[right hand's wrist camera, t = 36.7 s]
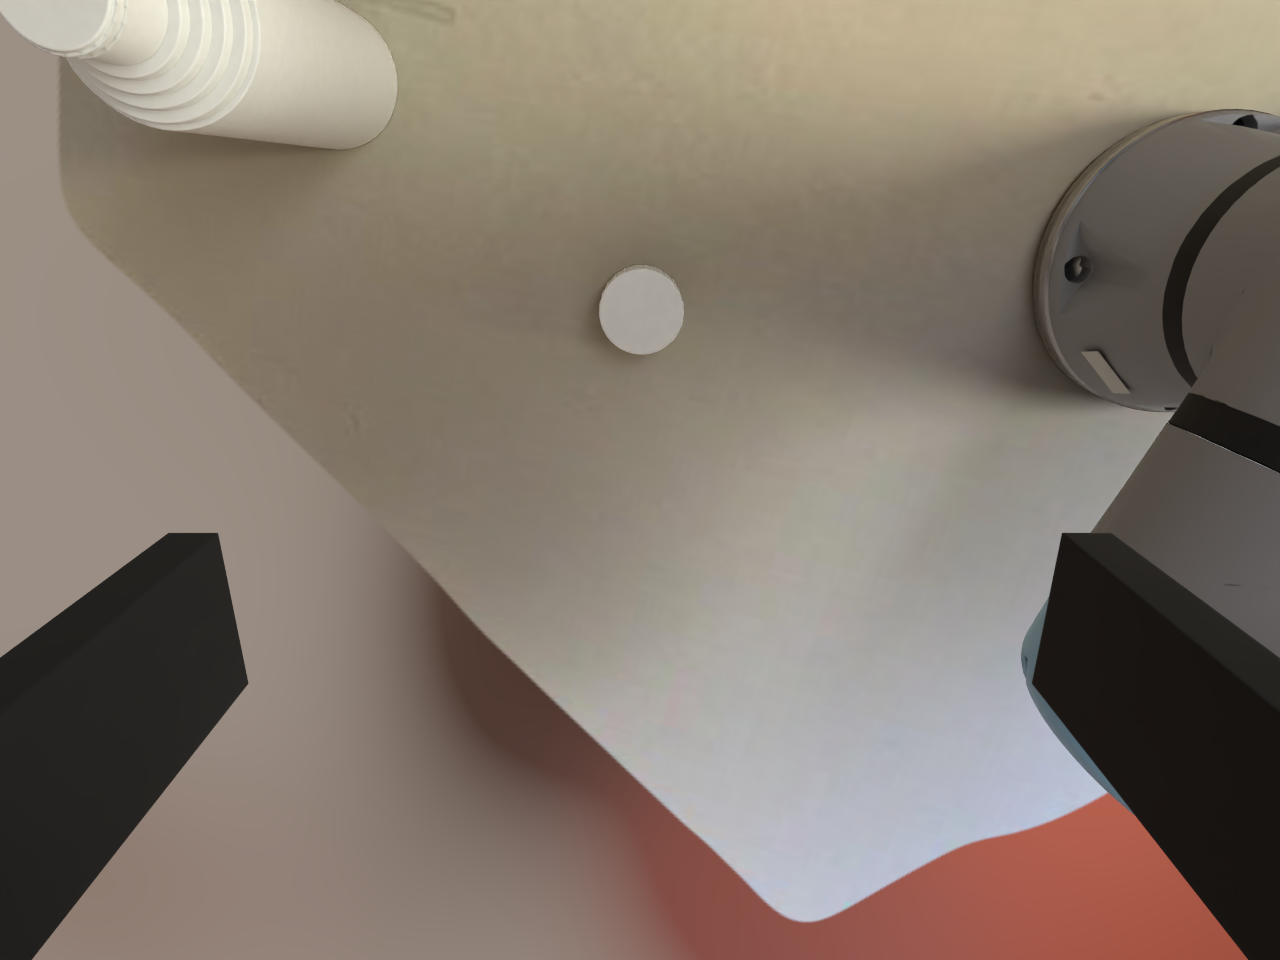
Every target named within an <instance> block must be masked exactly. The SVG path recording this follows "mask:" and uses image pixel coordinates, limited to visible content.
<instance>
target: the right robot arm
mask: <svg viewBox="0 0 1280 960" xmlns="http://www.w3.org/2000/svg"><path fill="white" fill-rule="evenodd" d="M1033 306H1034V313H1035V319H1036V323H1037V326H1038V330H1039V333H1040V335H1041V338H1042V340H1043V343H1044V345H1045V347H1046V349H1047V350H1048V352H1049V354H1050V356H1051V357H1052V358H1053V360H1054V361H1055V363H1056V364H1057V365H1058V366H1059V368H1060V369H1061V370H1062V371H1063V372H1064V373H1065V374H1066V375H1067V376H1068V377H1069V378H1071V379H1072V380H1073V381H1074V382H1076V383H1077V384H1078V385H1080V386H1081V387H1083V388H1084V389H1086V390H1088V391H1090V392H1092V393H1094V394H1096V395H1098V396H1100V397H1102V398H1105V399H1107V400H1109V401H1111V402H1114V403H1116V404H1119V405H1121V406H1125V407H1129V408H1132V409H1137V410H1143V411H1153V412H1175V413H1174V415H1173V416H1172V418H1171V419H1170V420H1169V421H1168V422H1169V423H1170V424H1169V423H1166V425H1165V426H1164V428H1163V429H1162V431H1161V432H1160V434H1159V435H1158V437H1157V438H1156V440H1155V441H1154V443H1153V444H1152V445H1151V447H1150V448H1149V450H1148V451H1147V453H1146V454H1145V456H1144V457H1143V459H1142V460H1141V462H1140V463H1139V465H1138V466H1137V467H1136V469H1135V470H1134V472H1133V473H1132V475H1131V476H1130V478H1129V479H1128V481H1127V482H1126V484H1125V485H1124V487H1123V488H1122V489H1121V491H1120V492H1119V494H1118V495H1117V496H1116V498H1115V499H1114V501H1113V502H1112V504H1111V505H1110V506H1109V508H1108V509H1107V511H1106V512H1105V513H1104V515H1103V516H1102V518H1101V519H1100V520H1099V522H1098V523H1097V525H1096V526H1095V528H1094V529H1093V530H1092V532H1091V533H1062V536H1061V541H1060V546H1059V551H1058V556H1057V561H1056V566H1055V571H1054V576H1053V581H1052V585H1051V590H1050V595H1049V598H1048V599H1047V601H1046V602H1045V604H1044V606H1043V607H1042V609H1041V611H1040V612H1039V614H1038V615H1037V617H1036V619H1035V620H1034V622H1033V624H1032V625H1031V627H1030V629H1029V630H1028V632H1027V634H1026V636H1025V639H1024V641H1023V645H1022V651H1021V661H1022V667H1023V673H1024V675H1025V677H1026V684H1027V688H1028V690H1029V693H1030V695H1031V697H1032V699H1033V701H1034V703H1035V705H1036V707H1037V708H1038V710H1039V712H1040V713H1041V715H1042V717H1043V718H1044V720H1045V721H1046V723H1047V724H1048V726H1049V727H1050V728H1051V730H1052V731H1053V733H1054V734H1055V735H1056V736H1057V738H1058V739H1059V740H1060V742H1061V743H1062V744H1063V745H1064V747H1065V748H1066V749H1067V750H1068V751H1069V752H1070V754H1071V755H1072V756H1073V757H1074V758H1075V759H1076V760H1077V761H1078V762H1079V764H1080V765H1081V766H1082V767H1083V768H1084V769H1085V770H1086V771H1087V772H1088V773H1089V774H1090V775H1091V776H1092V777H1093V778H1094V779H1095V780H1096V781H1097V782H1098V783H1099V784H1100V785H1101V786H1102V787H1103V788H1104V789H1105V790H1106V791H1107V792H1108V793H1109V794H1111V795H1112V796H1113V797H1114V798H1115V799H1116V800H1117V801H1118V802H1120V803H1121V804H1122V805H1123V806H1124V807H1125V808H1127V809H1128V810H1129V811H1130V812H1131V813H1133V814H1134V815H1135V816H1136V817H1137V818H1138V820H1139V821H1140V822H1141V823H1142V825H1143V826H1144V827H1145V829H1146V830H1147V831H1148V832H1149V834H1150V835H1151V836H1152V838H1153V839H1154V840H1155V841H1156V843H1157V844H1158V845H1159V846H1160V848H1161V849H1162V850H1163V852H1164V853H1165V854H1166V855H1167V857H1168V858H1169V859H1170V860H1171V862H1172V863H1173V864H1174V866H1175V867H1176V868H1177V869H1178V871H1179V872H1180V873H1181V874H1182V876H1183V877H1184V878H1185V880H1186V881H1187V882H1188V883H1189V885H1190V886H1191V887H1192V889H1193V890H1194V891H1195V892H1196V894H1197V895H1198V896H1199V897H1200V899H1201V900H1202V901H1203V903H1204V904H1205V905H1206V906H1207V908H1208V909H1209V910H1210V911H1211V913H1212V914H1213V915H1214V917H1215V918H1216V919H1217V920H1218V922H1219V923H1220V924H1221V926H1222V927H1223V928H1224V929H1225V931H1226V932H1227V933H1228V934H1229V936H1230V937H1231V938H1232V940H1233V941H1234V942H1235V943H1236V945H1237V946H1238V947H1239V948H1240V950H1241V951H1242V952H1243V954H1244V955H1245V956H1246V957H1247V959H1248V960H1280V474H1279V473H1280V117H1278V116H1274V115H1271V114H1268V113H1264V112H1259V111H1254V110H1243V109H1222V110H1214V111H1206V112H1198V113H1191V114H1184V115H1180V116H1176V117H1171V118H1168V119H1165V120H1162V121H1159V122H1156V123H1154V124H1151V125H1149V126H1147V127H1145V128H1142V129H1140V130H1138V131H1136V132H1135V133H1133V134H1131V135H1129V136H1127V137H1126V138H1124V139H1123V140H1121V141H1120V142H1118V143H1117V144H1115V145H1114V146H1112V147H1111V148H1110V149H1108V150H1107V151H1106V152H1105V153H1103V154H1102V155H1101V156H1100V157H1098V158H1097V159H1096V160H1095V161H1094V162H1093V163H1092V164H1091V165H1090V166H1089V167H1088V168H1087V169H1086V170H1085V171H1084V172H1083V173H1082V174H1081V175H1080V176H1079V178H1078V179H1077V180H1076V181H1075V182H1074V184H1073V185H1072V186H1071V187H1070V189H1069V190H1068V191H1067V193H1066V194H1065V196H1064V197H1063V199H1062V200H1061V202H1060V203H1059V205H1058V206H1057V208H1056V210H1055V212H1054V214H1053V216H1052V218H1051V219H1050V221H1049V224H1048V226H1047V228H1046V231H1045V233H1044V235H1043V238H1042V241H1041V244H1040V247H1039V251H1038V255H1037V259H1036V263H1035V270H1034V277H1033ZM1180 428H1181V429H1180ZM1182 429H1183V430H1182ZM1184 430H1185V431H1184ZM1187 431H1188V432H1187ZM1189 432H1190V433H1189ZM1191 433H1193V434H1195V435H1198V436H1200V437H1202V438H1204V439H1206V440H1208V441H1206V440H1204V439H1202V438H1200V437H1198V436H1195V435H1193V434H1191ZM1209 441H1210V442H1209ZM1211 442H1212V443H1211ZM1213 443H1215V444H1217V445H1215V444H1213ZM1218 445H1219V446H1218ZM1220 446H1222V447H1224V448H1226V449H1228V450H1226V449H1224V448H1222V447H1220ZM1229 450H1230V451H1229ZM1231 451H1232V452H1231ZM1233 452H1234V453H1233ZM1235 453H1236V454H1235ZM1237 454H1239V455H1237ZM1240 455H1241V456H1240ZM1242 456H1243V457H1242ZM1244 457H1246V458H1248V459H1250V460H1248V459H1246V458H1244ZM1251 460H1252V461H1251ZM1253 461H1255V462H1257V463H1259V464H1261V465H1259V464H1257V463H1255V462H1253ZM1262 465H1263V466H1262ZM1264 466H1265V467H1264ZM1266 467H1268V468H1270V469H1272V470H1270V469H1268V468H1266ZM1273 470H1274V471H1273ZM1275 471H1276V472H1275ZM1277 472H1278V473H1277ZM247 685H248V680H247V674H246V669H245V665H244V660H243V655H242V650H241V645H240V640H239V635H238V630H237V625H236V620H235V615H234V610H233V605H232V600H231V595H230V591H229V586H228V581H227V576H226V571H225V566H224V561H223V556H222V551H221V546H220V541H219V536H218V533H168V534H167V535H165V536H164V537H163V538H161V539H160V540H159V541H157V542H156V543H155V544H153V545H152V546H150V547H149V548H148V549H146V550H145V551H144V552H142V553H141V554H140V555H138V556H137V557H136V558H134V559H133V560H132V561H130V562H129V563H128V564H126V565H125V566H123V567H122V568H121V569H119V570H118V571H117V572H115V573H114V574H113V575H111V576H110V577H109V578H107V579H106V580H105V581H103V582H102V583H101V584H99V585H98V586H97V587H95V588H94V589H92V590H91V591H90V592H88V593H87V594H86V595H84V596H83V597H82V598H80V599H79V600H78V601H76V602H75V603H74V604H72V605H71V606H69V607H68V608H67V609H65V610H64V611H63V612H61V613H60V614H59V615H57V616H56V617H55V618H53V619H52V620H51V621H49V622H48V623H47V624H45V625H44V626H42V627H41V628H40V629H38V630H37V631H36V632H34V633H33V634H32V635H30V636H29V637H28V638H26V639H25V640H24V641H22V642H21V643H20V644H18V645H17V646H15V647H14V648H13V649H11V650H10V651H9V652H7V653H6V654H5V655H3V656H2V657H1V658H0V960H32V959H33V957H34V956H35V955H36V953H37V952H38V951H39V950H40V948H41V947H42V946H43V945H44V943H45V942H46V941H47V939H48V938H49V937H50V936H51V934H52V933H53V932H54V931H55V929H56V928H57V927H58V925H59V924H60V923H61V922H62V920H63V919H64V918H65V917H66V915H67V914H68V913H69V911H70V910H71V909H72V908H73V906H74V905H75V904H76V902H77V901H78V900H79V899H80V897H81V896H82V895H83V893H84V892H85V891H86V890H87V888H88V887H89V886H90V885H91V883H92V882H93V881H94V879H95V878H96V877H97V876H98V874H99V873H100V872H101V871H102V869H103V868H104V867H105V865H106V864H107V863H108V862H109V860H110V859H111V858H112V857H113V855H114V854H115V853H116V852H117V850H118V849H119V848H120V846H121V845H122V844H123V843H124V841H125V840H126V839H127V838H128V836H129V835H130V834H131V832H132V831H133V830H134V829H135V827H136V826H137V825H138V823H139V822H140V821H141V820H142V818H143V817H144V816H145V815H146V813H147V812H148V811H149V809H150V808H151V807H152V806H153V804H154V803H155V802H156V801H157V799H158V798H159V797H160V795H161V794H162V793H163V792H164V790H165V789H166V788H167V786H168V785H169V784H170V783H171V781H172V780H173V779H174V778H175V776H176V775H177V774H178V772H179V771H180V770H181V769H182V767H183V766H184V765H185V764H186V762H187V761H188V760H189V758H190V757H191V756H192V755H193V753H194V752H195V751H196V750H197V748H198V747H199V746H200V744H201V743H202V742H203V741H204V739H205V738H206V737H207V736H208V734H209V733H210V732H211V730H212V729H213V728H214V727H215V725H216V724H217V723H218V721H219V720H220V719H221V718H222V716H223V715H224V714H225V713H226V711H227V710H228V709H229V707H230V706H231V705H232V704H233V702H234V701H235V700H236V698H237V697H238V696H239V695H240V693H241V692H242V691H243V690H244V688H245V687H246V686H247Z"/></svg>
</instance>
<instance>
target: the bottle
mask: <svg viewBox="0 0 1280 960" xmlns="http://www.w3.org/2000/svg"><path fill="white" fill-rule="evenodd" d="M0 13H1V15H2V16H3V18H4V19H5V20H6V21H7V23H8V24H9V25H10V26H11V27H12V28H13V29H14V30H15V31H16V32H18V33H19V34H20V36H21V37H23V38H24V39H26V40H27V41H28V42H30V43H31V44H32V45H34V46H35V47H36V48H39V49H41V50H43V51H46V52H48V53H50V54H53V55H58V56H62V57H65V58H66V60H67V61H68V63H69V64H70V66H71V68H72V69H73V70H74V72H75V73H76V74H77V75H78V77H79V78H80V79H81V80H82V81H83V82H84V83H85V84H86V85H87V87H88V88H89V89H90V90H91V91H92V92H94V93H95V94H96V95H97V96H98V97H100V98H101V99H102V100H103V101H104V102H106V103H107V104H108V105H109V106H110V107H112V108H113V109H115V110H116V111H118V112H119V113H121V114H122V115H124V116H126V117H128V118H130V119H132V120H133V121H135V122H138V123H140V124H143V125H146V126H149V127H152V128H157V129H161V130H168V131H177V132H186V133H195V134H203V135H212V136H221V137H230V138H239V139H247V140H256V141H265V142H274V143H283V144H292V145H300V146H309V147H318V148H327V149H337V150H343V149H351V148H356V147H359V146H362V145H364V144H366V143H368V142H370V141H371V140H372V139H374V138H375V137H376V136H377V135H378V134H379V133H380V132H381V131H382V130H383V129H384V128H385V126H386V125H387V124H388V122H389V120H390V118H391V116H392V113H393V111H394V108H395V104H396V100H397V90H398V86H397V74H396V69H395V65H394V61H393V58H392V56H391V53H390V51H389V49H388V47H387V45H386V43H385V42H384V40H383V39H382V37H381V36H380V34H379V33H378V32H377V31H376V30H375V28H374V27H373V26H372V25H371V24H370V23H368V22H367V21H366V20H365V19H364V18H362V17H361V16H359V15H358V14H356V13H355V12H353V11H351V10H350V9H348V8H346V7H345V6H343V5H341V4H340V3H338V2H336V1H335V0H0Z"/></svg>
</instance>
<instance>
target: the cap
mask: <svg viewBox="0 0 1280 960" xmlns="http://www.w3.org/2000/svg"><path fill="white" fill-rule="evenodd" d="M601 295H602V298H601V300H600V302H599V318H600V323H601V327H602V329H603V331H604V333H605V334H606V336H607V337H608V339H609V340H610V341H611V342H612V343H613V344H614V345H615V346H617V347H618V348H620V349H621V350H623V351H625V352H628V353H632V354H638V355H646V354H652V353H655V352H658V351H660V350H662V349H663V348H665V347H667V346H668V345H669V344H670V343H671V342H672V341H673V340H674V339H675V337H676V336H677V335H678V333H679V331H680V329H681V326H682V324H683V318H684V313H685V311H684V306H683V302H684V300H683V298H682V297H681V294H680V289H679V287H677V285H676V284H675V282H674V279H673V278H671V277H670V276H669V275H668V274H666V272H665V271H664V272H663V271H662V270H660V269H658V268H656V266H655V267H653V266H648V265H646V264H644V265H635V264H634V266H631V267H628V268H624V269H623V270H621V271H620V272H618V273H617V274H616V273H615V275H614V276H613V277H612V279H611V280H610V281H608V282H607V285H606V287H605V289H604V290H603V291H602V294H601Z"/></svg>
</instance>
